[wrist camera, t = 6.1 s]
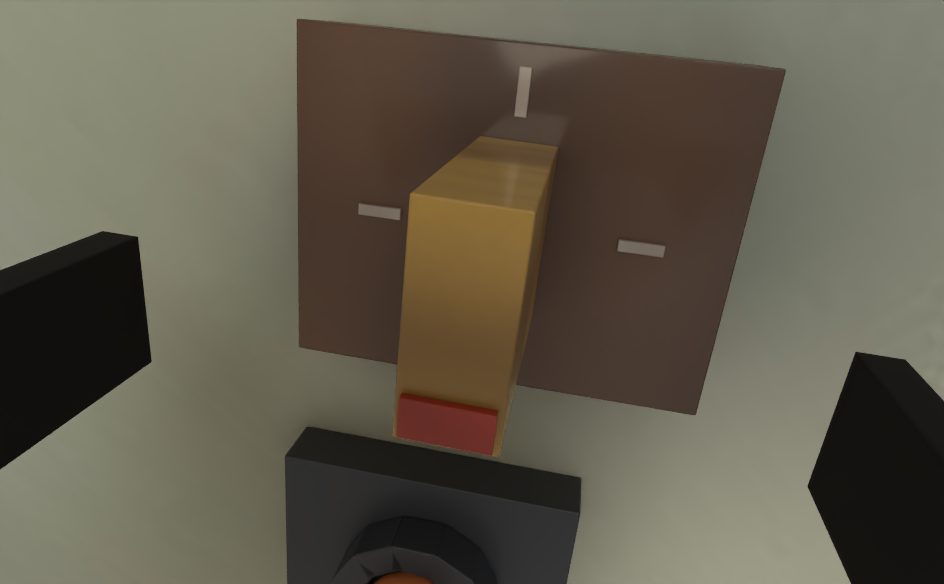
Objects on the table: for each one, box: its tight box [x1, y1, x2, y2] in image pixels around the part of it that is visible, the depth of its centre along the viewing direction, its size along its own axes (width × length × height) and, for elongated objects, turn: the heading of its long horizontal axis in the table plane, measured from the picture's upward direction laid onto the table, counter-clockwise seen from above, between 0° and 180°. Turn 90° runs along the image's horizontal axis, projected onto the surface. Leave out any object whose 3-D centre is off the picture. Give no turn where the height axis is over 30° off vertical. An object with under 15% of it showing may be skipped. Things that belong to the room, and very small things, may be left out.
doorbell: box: [285, 427, 581, 584], centre depth 28 cm, size 12×10×4 cm
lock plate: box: [297, 19, 786, 415], centre depth 22 cm, size 14×11×3 cm
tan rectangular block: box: [392, 136, 558, 457], centre depth 17 cm, size 6×2×8 cm, turn 174°
